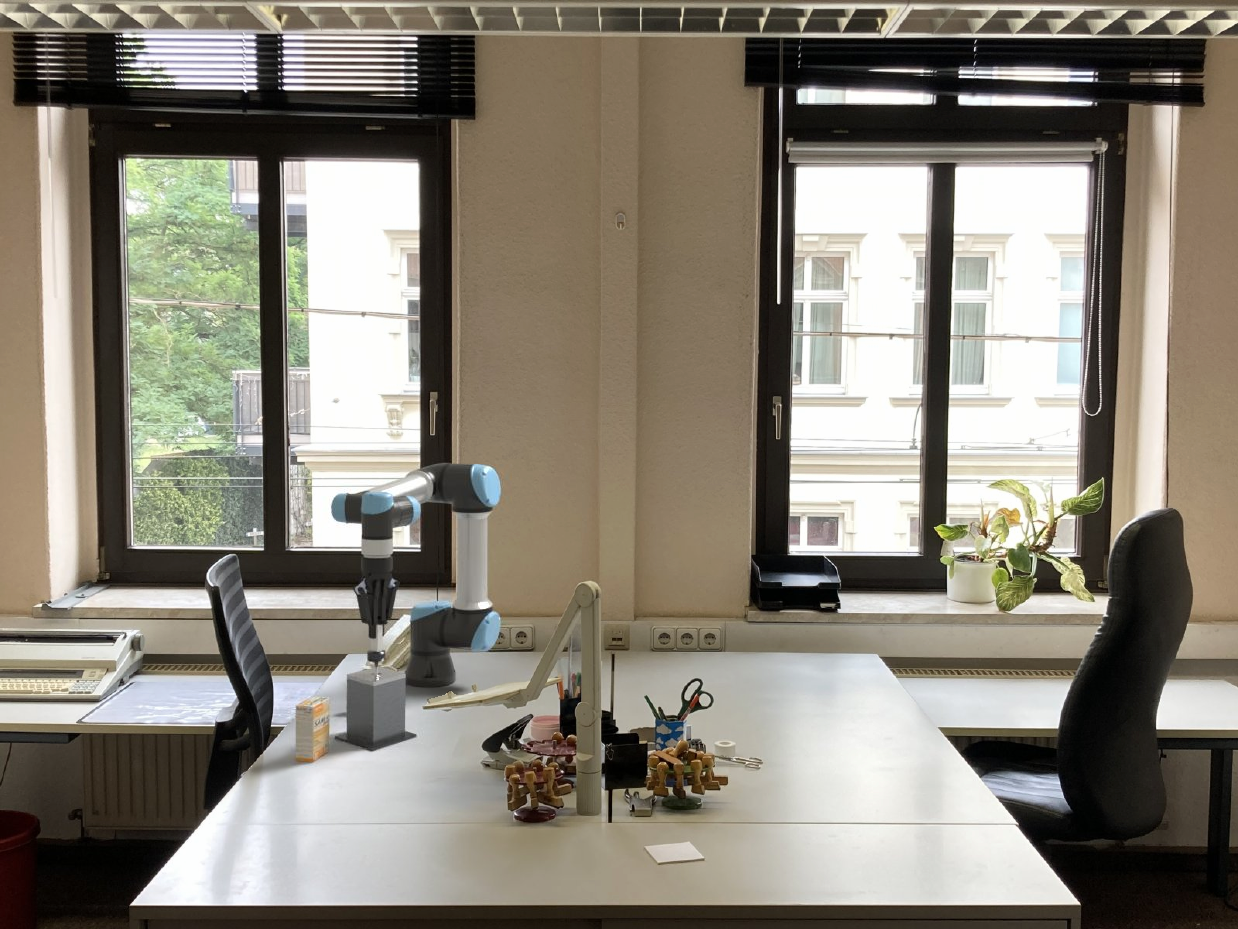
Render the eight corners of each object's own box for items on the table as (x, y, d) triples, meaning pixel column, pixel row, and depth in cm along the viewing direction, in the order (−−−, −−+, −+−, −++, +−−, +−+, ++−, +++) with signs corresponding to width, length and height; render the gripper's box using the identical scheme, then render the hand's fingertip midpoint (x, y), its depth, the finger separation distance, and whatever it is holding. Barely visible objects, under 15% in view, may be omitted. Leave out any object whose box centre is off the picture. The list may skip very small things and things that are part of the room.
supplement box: (313, 763, 247) (313, 707, 246) (294, 761, 248) (294, 705, 247) (330, 751, 255) (330, 697, 254) (311, 749, 256) (311, 695, 255)
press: (376, 724, 275) (377, 663, 274) (416, 736, 266) (417, 673, 265) (332, 737, 264) (332, 674, 263) (372, 751, 255) (372, 685, 254)
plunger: (377, 703, 270) (378, 646, 268) (397, 709, 265) (397, 651, 264) (354, 710, 264) (355, 651, 263) (374, 716, 259) (374, 656, 258)
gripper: (387, 550, 269) (386, 643, 271) (345, 556, 259) (345, 653, 260) (407, 554, 265) (406, 648, 266) (365, 560, 254) (365, 658, 256)
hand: (376, 650), depth 263 cm, fingers closed
